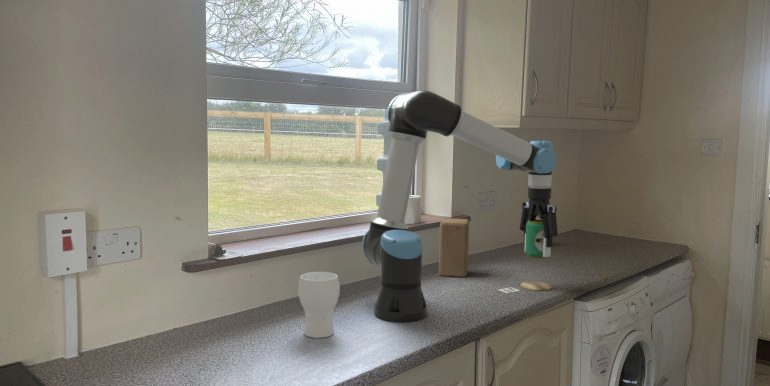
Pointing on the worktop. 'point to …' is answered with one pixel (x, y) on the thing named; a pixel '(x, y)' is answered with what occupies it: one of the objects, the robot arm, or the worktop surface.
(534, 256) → the beverage can
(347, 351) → the worktop surface
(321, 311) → the cup
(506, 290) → the sticker
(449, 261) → the wooden block
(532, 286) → the coaster
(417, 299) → the robot arm
